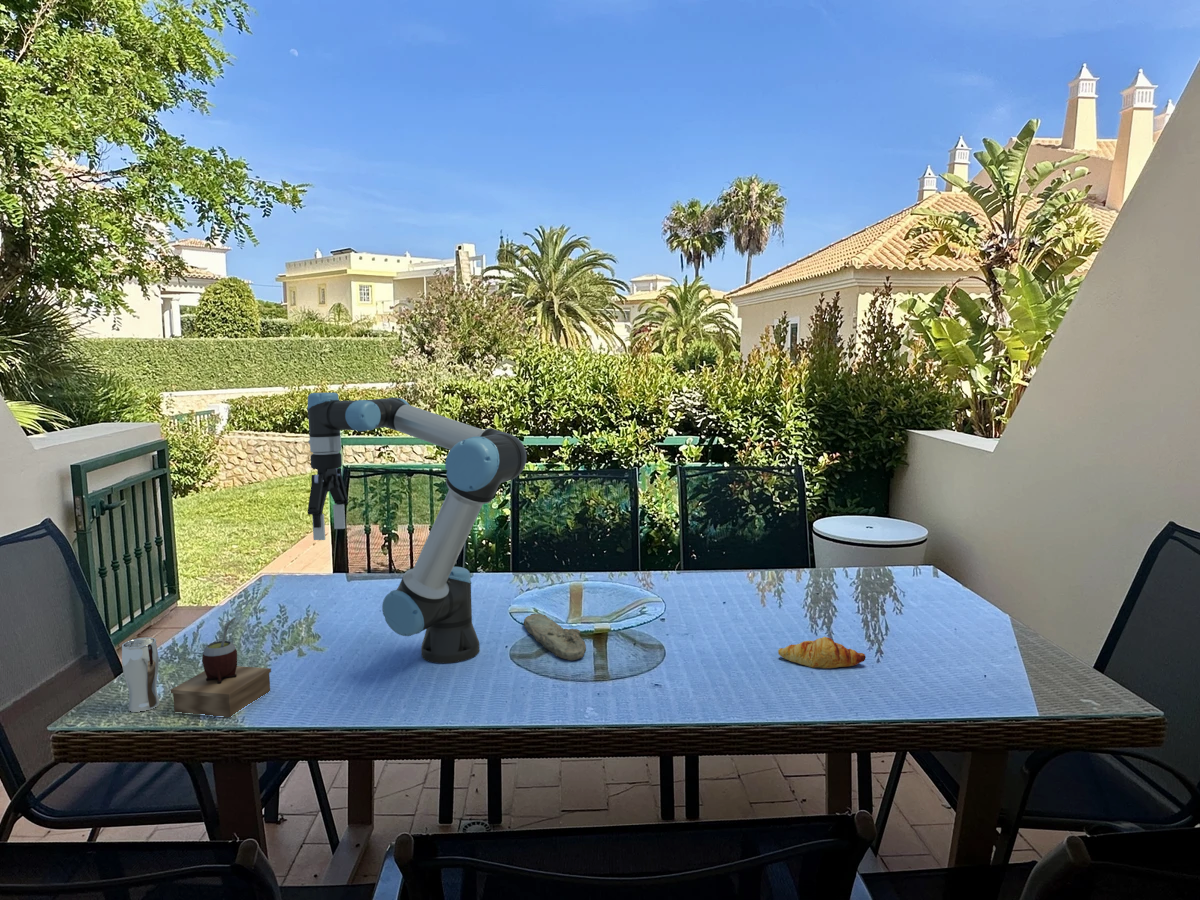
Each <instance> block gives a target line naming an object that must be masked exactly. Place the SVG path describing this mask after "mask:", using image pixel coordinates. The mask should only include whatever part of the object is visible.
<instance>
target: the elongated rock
mask: <svg viewBox="0 0 1200 900" xmlns="http://www.w3.org/2000/svg"><path fill="white" fill-rule="evenodd" d="M523 626H524V628H525V629H526V631H527V633H528V634H530V635H531V636H532V637H533V638H534V639H535V641H536V643H537V642H538V643H540V644H541V645H542V646H543V648H544V649H547V651H549V652H550V653H552V654H553V655H554V656H555V657H559V658H560V659H564V660H568V661H575V660H579V659H582V658H583V657H584V656H585V653H586V651H587V649H586V648H587V645H586V642H585V640H584V639H583V638H582V636H581V635H580V634H581V631H580V629H578V628H570V629H568V628H563V627H562V625H560V624H558V623H557V622H555V621H554V620H553V619H551V618H549V617H548V616H547V615H546V614H541V613H535V614H534V613H532V614H530V615H527V616H526V617H525V618H524V619H523Z"/></svg>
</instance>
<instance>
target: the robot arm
mask: <svg viewBox="0 0 1200 900" xmlns="http://www.w3.org/2000/svg"><path fill="white" fill-rule="evenodd" d="M339 398H340V397H339V394H338V393H337V392H311V393H308V395H307V409H306V411H307V419H308V433H309V434H308V435H309V440H308V441H307V442H308V444H309V448H310V450H309V451H310V452H311V453H312V454H311V455H309V456H310V457H309V458H310V468H311V469H313V470H316V471H317V472H316V474H311V479H310V480H311V485H310V490H309V497H308V498H309V499H308V504H307V505H308V506H307V514H308V516H311V517H312V518H311V519H312V534H313V535H312V538H313V541H325V540H326V525H325V524H326V523H325V514H324V513H323V511H324V507H325V504H326V499H327V495H328V493H330V496H331V498H332V500H333V502H334V504H333V506H332V508H333V528H334V529H333V530H344V529H346V514H345V513H346V512H345V505H348V503H349V500H348V494H347V491H346V486H345V482H344V478H343V472H342V466H343V462H342V461H343V460H342V459H343V457H342V453H340V452H341V450H342V439H341V438H342V437H341V431H357V432H368V431H373V430H374V429H381V428H383V429H384V428H388V429H391V430H394V431H397V432H400V433H403V434H405V435H408V436H411V437H414V438H417V439H419V440H421V441H424V442H427V443H430V444H433V445H435V446H438V447H441V448H444V449H447V450H449V451H448V453H447V456H446V458H445V463H444V467H445V470H446V472H445V474H446V480H445V485H446V486H447V488H448V491H447V494H446V495H445V498H444V501H443V503H442V505H441V507H440V510H438V511H439V512H438V514H437V516H436V518H435V520H434V523H433V524H432V527H431V529H430V531H429V533H428V535H427V538H426V540H425V543H424V545H423V547H422V549H421V551H420V553H419V555H418V558H417V560H416V563H415V565H414V567H413V568H411V569H408V570H406V571H405V573H404V574H403V576H402V577H401V580H400V583H399V585H398V587H397V588H396V589H394V590H390V592H388V594H386V595H385V596H384V599H383V601H382V605H381V606H382V615H383V617H384V620H385V623H386V624H387V625H388V627H389V628H390V629H391V630H392V631H393V632H394V633H396V634H397V635H399V636H402V637H410V636H413V635H418V634H420V633H422V632H423V631H425V632H424V637H423V640H422V644H421V646H420V647H421V649H420V652H421V657H422V659H424V660H425V661H427V662H431V663H434V664H435V663H436V664H437V663H438V664H451V663H452V664H453V663H459V662H464V661H467V660H470V659H472V658H474V657H476V656H477V655H478V654H479V653H480V641H479V638H478V635H477V633H476V630H475V627H474V625H473V619H472V618H473V615H472V613H473V612H472V581H471V572H470V570H468V569H467V568H465V567H461V566H455V565H456V563H457V560H458V559H459V555H460V554H461V552H462V550H463V548H464V546H465V544H466V542H467V539H468V537H469V535H470V533H471V531H472V529H473V526H474V524H475V522H476V520H477V517H478V516H479V513H480V511H481V509H482V507H483V506H484V505H486V504H488V503H491V502H492V500H493V499H494V497H495V495H496V492H497V490H498V488H499V486H500V484H502V483H507V482H510V481H512V480H514V479H516V478H517V477H518V476H519V475H520V474H521V473H522V472H523V471H524V470H525V466H526V464H527V456H528V455H527V451H526V448H525V446H524V444H523V442H522V441H521V440H520V439H519V438H518V437H516V436H515V435H513V434H510V433H509V432H508V433H507V432H505V431H502V430H498V429H495V428H492V427H488V428H485V429H482V428H479V427H476V426H473V425H470V424H468V423H464V422H461V421H458V420H455V419H452V418H449V417H446V416H443V415H441V414H437V413H434V412H431V411H428V410H424V409H423V408H419V407H416V406H414V405H410V404H409V403H408V401H407V400H405V399H404V398H402V397H401V398H399V397H388V398H375V399H358V400H357V399H356V400H340V399H339Z"/></svg>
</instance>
